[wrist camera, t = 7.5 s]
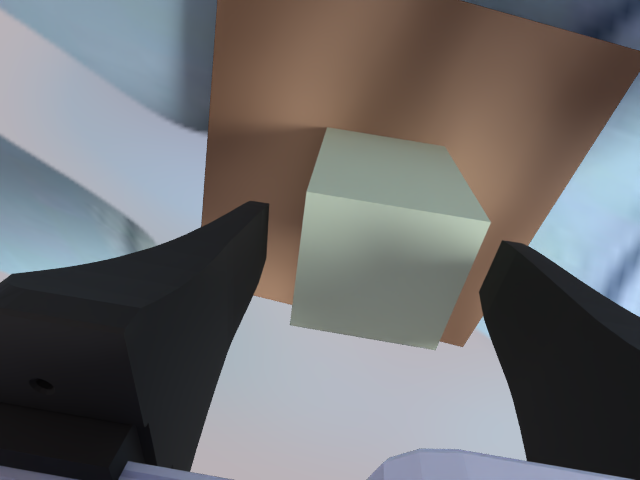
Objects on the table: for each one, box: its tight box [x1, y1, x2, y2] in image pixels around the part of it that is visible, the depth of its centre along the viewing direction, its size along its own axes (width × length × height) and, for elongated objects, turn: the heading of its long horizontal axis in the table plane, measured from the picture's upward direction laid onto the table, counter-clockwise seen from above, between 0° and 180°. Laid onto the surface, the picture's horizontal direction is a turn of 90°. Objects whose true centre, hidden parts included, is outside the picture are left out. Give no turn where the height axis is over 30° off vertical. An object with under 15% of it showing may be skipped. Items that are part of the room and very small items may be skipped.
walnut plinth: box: [201, 0, 640, 347], centre depth 16 cm, size 14×14×2 cm
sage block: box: [290, 127, 491, 350], centre depth 13 cm, size 4×4×6 cm
